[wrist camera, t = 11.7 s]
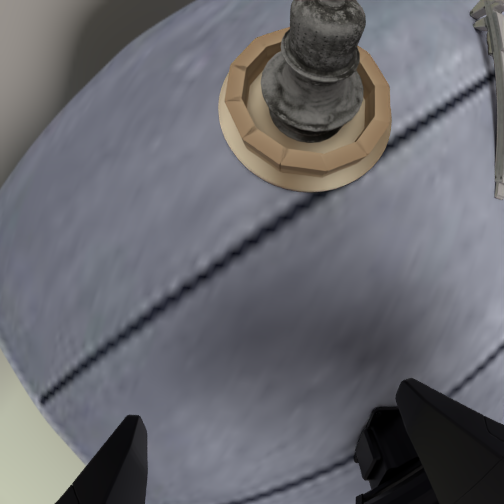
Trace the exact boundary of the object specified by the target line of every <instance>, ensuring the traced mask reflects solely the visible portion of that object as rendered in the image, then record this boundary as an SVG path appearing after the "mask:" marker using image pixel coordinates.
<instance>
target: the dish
mask: <svg viewBox="0 0 504 504" xmlns="http://www.w3.org/2000/svg"><path fill="white" fill-rule="evenodd" d="M289 29H290V27H288V28H285V29H282V30H278V31H275V32H272V33H269V34H266V35H263V36H260V37H257V39H256V38H255V39H254V40H253V41H252V42H251V44H250V45H249V46H248V47H247V48H246V49H245V50H244V51H243V52H242V53H241V54H240V55H239V56H238V57H237V58H236V59H235V60H234V62H233V63H232V64H231V65H230V70H229V73H228V75H227V77H226V78H225V81H224V83H223V86H222V88H221V92H220V97H219V106H218V109H219V120H220V125H221V129H222V131H223V134H224V137H225V139H226V141H227V143H228V145H229V146H230V148H231V150H232V151H233V152H234V154H235V155H236V156H237V158H238V159H239V160H240V161H241V162H242V164H243V165H244V166H245V167H246V168H247V169H249V170H250V171H251V172H252V173H254V174H255V175H256V176H258V177H260V178H261V179H263V180H264V181H266V182H268V183H271V184H273V185H275V186H278V187H281V188H284V189H287V190H292V191H298V192H323V191H328V190H333V189H336V188H339V187H342V186H345V185H347V184H349V183H351V182H353V181H354V180H356V179H358V178H359V177H361V176H362V175H364V174H365V173H366V172H367V171H368V170H370V169H371V168H372V167H373V166H374V165H375V163H376V162H377V161H378V160H379V158H380V157H381V155H382V153H383V152H384V150H385V148H386V145H387V143H388V140H389V136H390V131H391V121H392V119H391V108H390V87H389V84H388V83H387V81H386V79H385V78H384V76H383V74H382V73H381V71H380V69H379V68H378V66H377V65H376V63H375V62H374V60H373V58H372V57H371V55H370V54H368V52H367V51H365V50H364V49H362V48H361V47H359V46H357V47H358V50H359V53H360V62H359V65H358V67H357V72H358V74H359V76H360V77H361V81H362V85H363V89H364V90H363V102H362V104H361V107H360V109H359V111H358V113H357V114H356V115H355V116H354V117H353V119H352V120H351V121H349V122H348V123H346V124H345V125H343V126H342V128H341V129H340V130H339V131H338V133H337V134H335V135H334V136H332V137H331V138H329V139H327V140H324V141H321V142H316V143H306V142H300V141H296V140H294V139H292V138H289V137H288V136H286V135H285V134H283V133H282V132H281V131H280V130H279V129H278V128H277V127H276V126H275V124H274V123H273V121H272V119H271V116H270V113H269V107H268V106H267V104H266V102H265V100H264V98H263V95H262V90H261V77H262V72H263V70H264V68H265V66H266V64H267V62H268V61H269V60H270V59H271V58H272V57H273V56H274V55H275V54H277V53H278V52H280V51H281V41H282V38H283V36H284V34H285V33H286V32H287V31H288V30H289Z"/></svg>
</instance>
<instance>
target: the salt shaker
mask: <svg viewBox="0 0 504 504" xmlns="http://www.w3.org/2000/svg"><path fill="white" fill-rule="evenodd" d="M365 25H366V20H365V13H364V11H363V8H362V7H361V6H360V5H359V3H358V2H357V1H356V0H293V2H292V4H291V10H290V29H289V30H288V31H287V32H286V33H285V34H284V36H283V38H282V41H281V51H280V52H278V53H277V54H275V55H274V56H273V57H272V58H271V59H270V60H269V61H268V62H267V64H266V66H265V68H264V70H263V72H262V77H261V90H262V95H263V98H264V100H265V102H266V104H267V106H268V107H269V113H270V116H271V119H272V121H273V123H274V124H275V126H276V127H277V128H278V129H279V130H280V131H281V132H282V133H283V134H285V135H286V136H288V137H289V138H292V139H294V140H296V141H300V142H306V143H316V142H321V141H324V140H327V139H329V138H331V137H332V136H334V135H335V134H337V133H338V131H339V130H340V129H341V128H342V126H343V125H345V124H346V123H348V122H349V121H351V120H352V119H353V117H354V116H355V115H356V114H357V113H358V111H359V109H360V107H361V104H362V102H363V90H364V89H363V85H362V81H361V77H360V76H359V74H358V72H357V67H358V65H359V62H360V53H359V50H358V47H357V45H358V43H359V40H360V38H361V36H362V33H363V31H364V28H365Z"/></svg>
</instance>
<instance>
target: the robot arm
mask: <svg viewBox="0 0 504 504" xmlns="http://www.w3.org/2000/svg"><path fill="white" fill-rule="evenodd" d="M396 402H397V405H398V407H378V408H375V409H374V410H373V411H372V414H371V416H370V419H369V422H368V424H367V427H366V428H365V429H364V430H363V432H362V434H361V437H360V439H359V442H358V444H357V446H356V449H355V451H356V453H355V455H354V461H355V462H356V463H359V466H360V469H361V473H362V477H363V479H364V480H369V483H370V486H371V490H370V491H368V492H367V493H365V494H361V495H359V496H357V497H356V504H504V425H503V424H501V423H498V422H496V421H494V420H492V419H490V418H488V417H486V416H483V415H482V414H480V413H478V412H476V411H474V410H472V409H470V408H468V407H466V406H464V405H462V404H461V403H459V402H457V401H455V400H453V399H451V398H449V397H447V396H445V395H443V394H442V393H440V392H438V391H436V390H434V389H432V388H430V387H428V386H427V385H425V384H423V383H421V382H419V381H417V380H415V379H413V378H409V379H406V380H403V381H402V382H401V384H400V386H399V389H398V391H397V394H396ZM378 412H380V413H379V414H377V413H378ZM147 475H148V462H147V430H146V428H145V425H144V423H143V421H142V419H141V417H140V416H139V415H127V416H126V417H125V419H124V420H123V421H122V422H121V424H120V425H119V426H118V427H117V429H116V430H115V431H114V432H113V434H112V435H111V436H110V437H109V438H108V440H107V441H106V442H105V443H104V445H103V446H102V447H101V448H100V450H99V451H98V452H97V453H96V455H95V456H94V457H93V458H92V460H91V461H90V462H89V463H88V465H87V466H86V467H85V468H84V470H83V471H82V472H81V473H80V475H79V476H78V477H77V478H76V479H75V481H74V482H73V483H72V484H73V485H70V487H69V488H68V489H67V491H66V492H65V493H64V494H63V495H62V496H61V497H60V499H59V500H58V501H57V502H56V503H55V504H145V497H146V486H147Z"/></svg>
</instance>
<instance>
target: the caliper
mask: <svg viewBox="0 0 504 504" xmlns="http://www.w3.org/2000/svg"><path fill="white" fill-rule="evenodd" d="M503 4H504V0H480V1H479V2H478V3H477V5H476V6H475V7H474V8H473V9H472V10H471V11H470V16H472V17H474V18H476V19H479V18H480V17H482V16H484V15H487V16H486V17H483V18H482V19H480V20H478V21H476V22H475V23H474V24H473V27H474V28H476V29H478V30H480V31H488V32H487V44H488V54H489V55H490V56H492V57H493V59H494V68H495V79H496V95H497V138H496V155H495V182H496V188H495V198H497V199H500V200H503V199H504V16H503V15H502V14H501V13H502V12H503V11H504V5H503Z"/></svg>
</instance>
